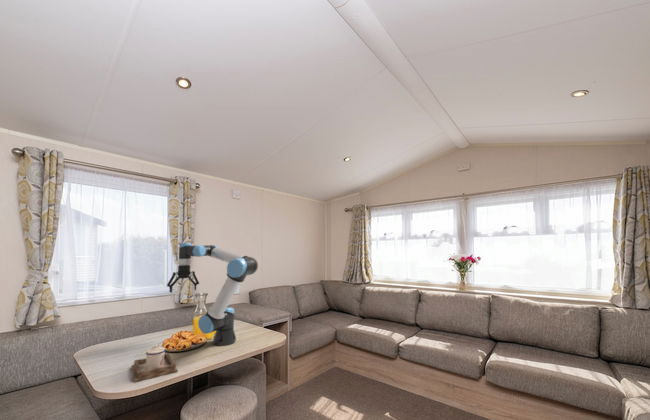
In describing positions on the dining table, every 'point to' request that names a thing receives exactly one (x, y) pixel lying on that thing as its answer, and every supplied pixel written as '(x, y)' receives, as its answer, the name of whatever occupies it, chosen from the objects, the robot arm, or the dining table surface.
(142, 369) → the wooden serving tray
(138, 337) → the dining table surface
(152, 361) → the teacup with lid
